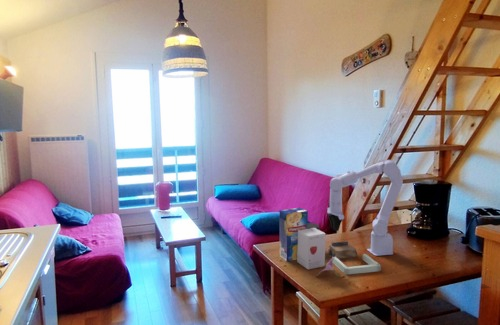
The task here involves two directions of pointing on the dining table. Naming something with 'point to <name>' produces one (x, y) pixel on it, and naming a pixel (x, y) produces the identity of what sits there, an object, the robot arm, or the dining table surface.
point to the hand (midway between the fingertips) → (335, 229)
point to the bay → (346, 270)
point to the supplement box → (311, 248)
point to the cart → (342, 250)
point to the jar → (313, 226)
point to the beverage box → (291, 231)
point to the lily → (329, 265)
